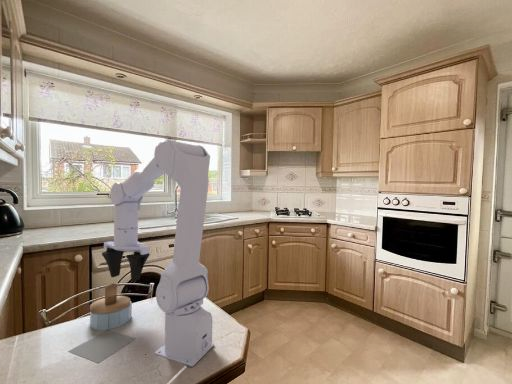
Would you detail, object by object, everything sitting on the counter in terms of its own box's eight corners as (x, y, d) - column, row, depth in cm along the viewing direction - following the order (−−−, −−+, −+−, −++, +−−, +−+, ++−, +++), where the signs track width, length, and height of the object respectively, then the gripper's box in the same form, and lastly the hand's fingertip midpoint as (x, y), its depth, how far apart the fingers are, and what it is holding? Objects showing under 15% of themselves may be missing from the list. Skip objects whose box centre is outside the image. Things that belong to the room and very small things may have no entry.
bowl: (138, 317, 68) (138, 301, 68) (107, 334, 59) (107, 316, 59) (114, 310, 71) (114, 296, 71) (81, 326, 63) (82, 309, 63)
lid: (138, 301, 68) (138, 282, 68) (108, 317, 59) (109, 294, 59) (112, 296, 71) (112, 278, 71) (80, 310, 62) (81, 289, 62)
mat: (136, 340, 57) (136, 338, 57) (98, 365, 49) (98, 363, 49) (108, 331, 61) (108, 329, 61) (68, 353, 52) (68, 351, 52)
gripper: (157, 227, 70) (157, 277, 70) (119, 224, 75) (119, 270, 75) (136, 231, 63) (136, 285, 63) (97, 227, 69) (96, 277, 69)
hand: (125, 278), depth 69 cm, fingers open, 7 cm apart
